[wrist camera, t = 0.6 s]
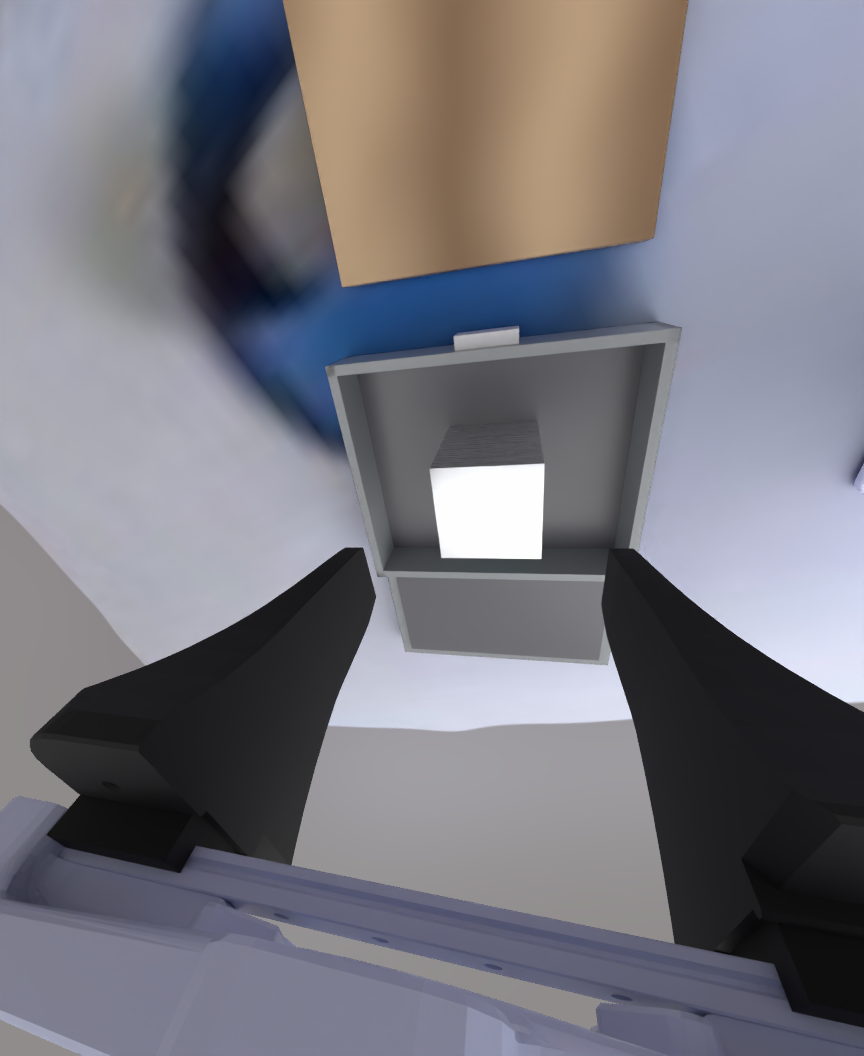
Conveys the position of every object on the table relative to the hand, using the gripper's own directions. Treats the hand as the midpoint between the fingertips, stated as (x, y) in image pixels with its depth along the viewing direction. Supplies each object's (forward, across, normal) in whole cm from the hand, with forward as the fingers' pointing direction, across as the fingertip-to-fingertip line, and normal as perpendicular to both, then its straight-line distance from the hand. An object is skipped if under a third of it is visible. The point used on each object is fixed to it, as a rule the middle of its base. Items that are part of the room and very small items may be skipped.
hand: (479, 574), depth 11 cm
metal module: (+8, 0, 0) cm, 8 cm away
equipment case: (+9, 0, +4) cm, 9 cm away
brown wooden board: (+9, 0, -12) cm, 15 cm away
